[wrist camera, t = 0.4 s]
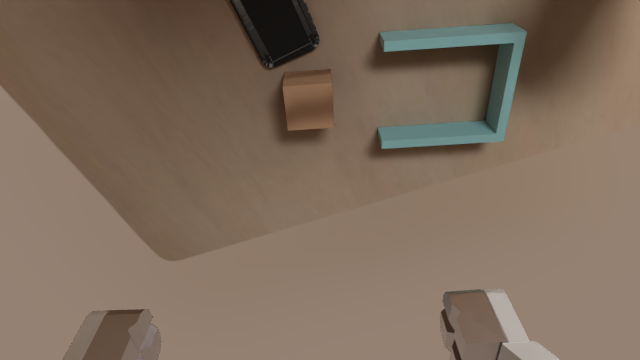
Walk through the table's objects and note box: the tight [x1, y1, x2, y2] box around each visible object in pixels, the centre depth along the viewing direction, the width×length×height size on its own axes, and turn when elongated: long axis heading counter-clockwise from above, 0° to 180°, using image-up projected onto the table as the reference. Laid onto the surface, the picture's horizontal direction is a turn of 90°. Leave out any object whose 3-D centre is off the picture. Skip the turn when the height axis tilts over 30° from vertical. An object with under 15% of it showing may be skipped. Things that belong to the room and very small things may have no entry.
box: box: [378, 23, 527, 149], centre depth 53 cm, size 14×16×4 cm
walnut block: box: [283, 69, 334, 131], centre depth 53 cm, size 6×6×5 cm
